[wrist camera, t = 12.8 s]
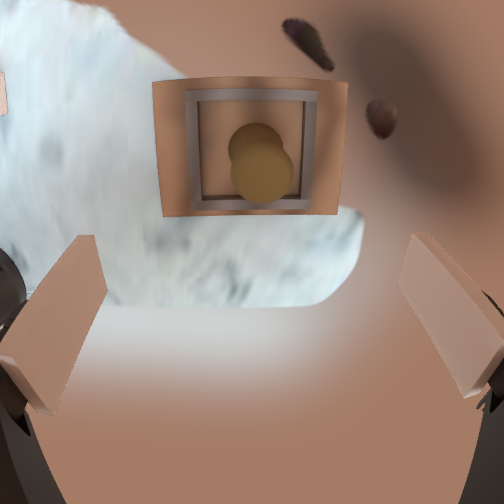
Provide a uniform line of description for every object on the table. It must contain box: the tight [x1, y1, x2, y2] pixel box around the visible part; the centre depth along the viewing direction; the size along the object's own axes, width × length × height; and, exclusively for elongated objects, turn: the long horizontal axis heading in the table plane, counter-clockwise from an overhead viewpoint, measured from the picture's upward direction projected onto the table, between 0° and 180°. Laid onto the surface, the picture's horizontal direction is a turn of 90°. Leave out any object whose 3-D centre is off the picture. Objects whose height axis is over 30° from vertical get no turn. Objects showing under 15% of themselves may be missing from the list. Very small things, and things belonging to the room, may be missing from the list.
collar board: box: [152, 77, 348, 217], centre depth 33 cm, size 21×16×2 cm
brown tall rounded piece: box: [228, 123, 294, 204], centre depth 29 cm, size 6×6×11 cm
